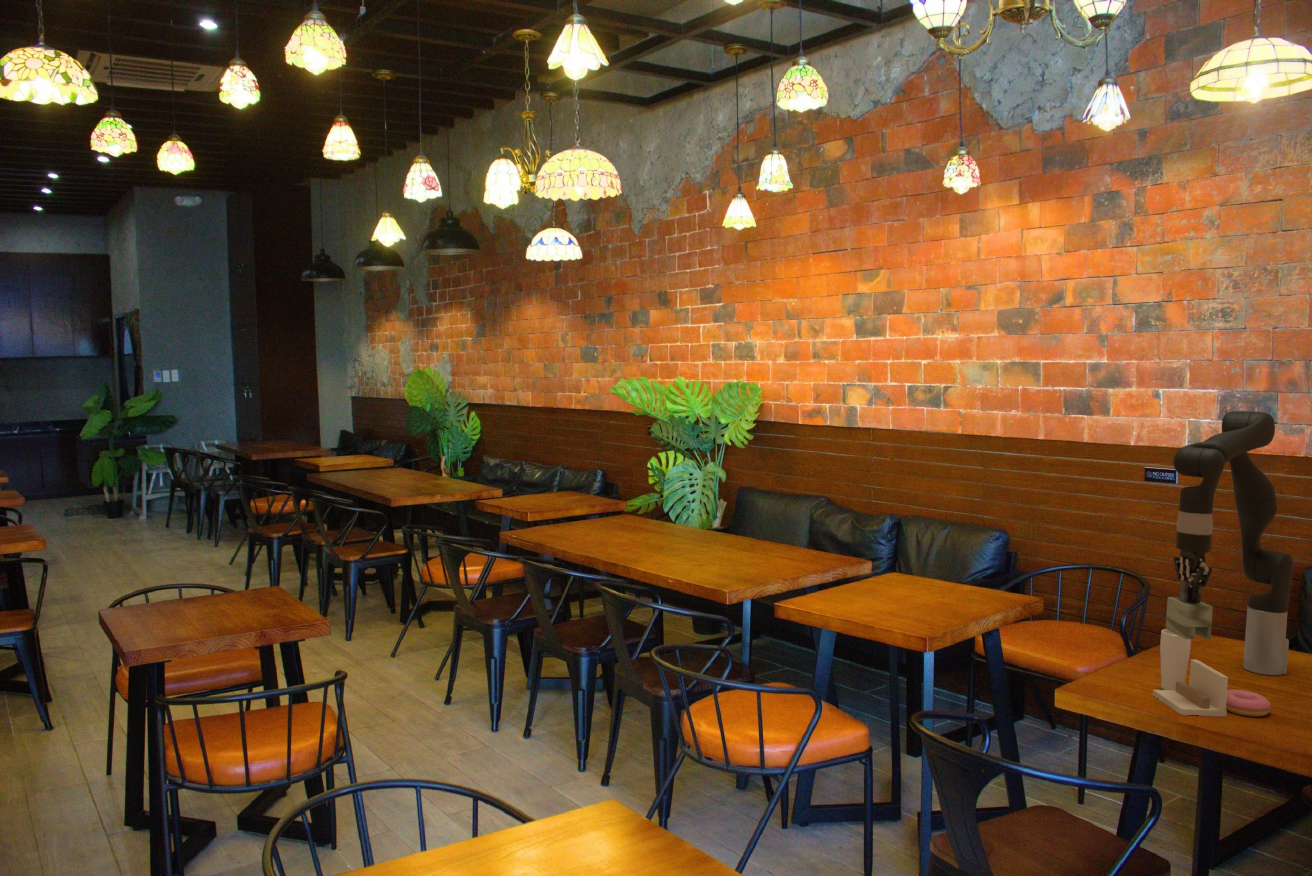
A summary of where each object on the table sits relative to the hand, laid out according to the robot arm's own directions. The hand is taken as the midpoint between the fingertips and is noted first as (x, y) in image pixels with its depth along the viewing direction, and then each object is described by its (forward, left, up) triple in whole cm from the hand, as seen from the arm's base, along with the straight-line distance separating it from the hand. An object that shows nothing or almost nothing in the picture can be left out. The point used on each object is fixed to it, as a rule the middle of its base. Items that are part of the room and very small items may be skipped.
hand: (1189, 601), depth 231 cm
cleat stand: (-2, 0, -26) cm, 26 cm away
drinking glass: (-3, -12, -26) cm, 29 cm away
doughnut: (-14, +2, -26) cm, 30 cm away
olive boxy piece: (0, 0, -8) cm, 8 cm away
